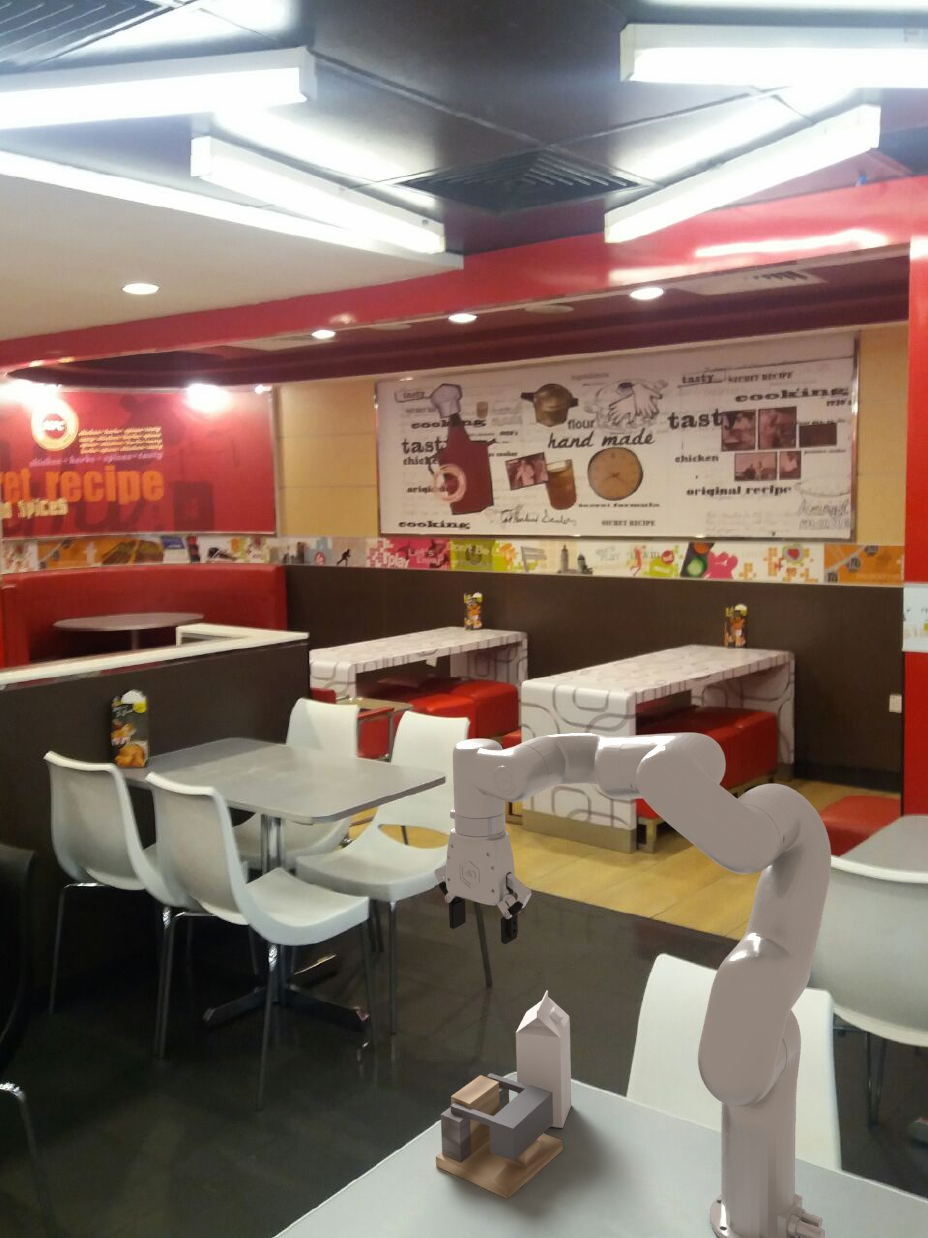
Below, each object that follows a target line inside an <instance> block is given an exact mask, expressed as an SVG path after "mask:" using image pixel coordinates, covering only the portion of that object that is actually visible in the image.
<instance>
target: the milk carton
mask: <svg viewBox="0 0 928 1238" xmlns="http://www.w3.org/2000/svg"><path fill="white" fill-rule="evenodd" d="M570 1019H571V1018H570V1016H569V1014H568V1013H567V1012H565V1010H564V1009H562V1008H561V1007H560V1006H559V1005H558V1004H557V1003H556V1002H555V1001H554V1000H553V999H551V998H550V997H549V990H547V989H546V991H545V992H544V995H543V997H542V999H541V1000H540V1001H539V1002H538V1003H537V1004H535V1005H533V1006H532V1007H531V1008H529V1009H528V1010H527V1011H526V1012H525V1014H524V1016H523V1018H522V1020H521V1021H520V1024H519V1026H518V1028H517V1030H516V1031H515V1049H516V1050H515V1052H516V1055H515V1056H516V1082H519V1083H522V1084H525V1085H528V1086H529V1085H532V1086H535V1087H538V1088H541V1089H544V1090H547V1091H550V1092H552V1093H553V1124H552V1125H551V1126H550V1127H549V1128H558V1129H563V1128H564V1126H565V1122H566V1120H567V1117H568V1115H569V1112H570V1109H571V1107H572V1073H571V1072H572V1070H571V1069H572V1067H571V1065H572V1064H571V1029H570V1028H571V1022H570ZM518 1094H520V1093H518V1092H517V1095H518Z"/></svg>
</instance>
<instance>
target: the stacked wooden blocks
mask: <svg viewBox="0 0 928 1238" xmlns="http://www.w3.org/2000/svg"><path fill="white" fill-rule="evenodd" d="M454 1102H455V1103H457V1104H460V1105H463V1106H466V1107H469V1108H471V1109H474V1110H477V1111H480V1112H482V1113H485V1114H488V1115H491V1116H495V1115H496V1114H497V1113H498V1112H499V1111H500V1110H501V1109H503V1108H504V1107H505V1106H506V1105H507V1104H508V1103H509V1102H510V1090H509V1089H506V1088H503V1087H500V1086H499V1082H497V1081H495V1080H492V1079H489V1078H487V1076H484V1075H482V1074H480V1075H478V1076H477V1077H476V1078H474V1079H473V1080H472V1081H470V1082H469V1083H468V1084H466V1085H465V1086H463V1087H462V1088H461V1089H459V1090H458V1091H456V1092H455V1093H454V1094H452V1095H451V1096H450V1103H451V1104H450V1107H448V1108H447V1109H446V1110H445V1111H443V1112H442V1113H440V1129H441V1130H440V1131H441V1152H440V1153H438V1154H437V1155H436V1156H435V1166H436V1167H437V1168H439V1169H441V1170H444V1171H447V1172H448V1173H451V1174H453V1175H455V1176H457V1177H459V1178H461V1179H464V1180H465V1181H467V1182H470V1183H472V1184H474V1185H476V1186H479V1187H481V1188H483V1189H485V1190H488V1191H489V1192H491V1193H494V1194H496V1195H498V1196H501V1197H503V1198H505V1199H506V1200H508V1199H509V1198H510V1197H512V1195H514V1194H515V1193H516V1192H518V1190H520V1188H521V1187H523V1186H524V1185H525V1184H526V1183H527V1182H528V1181H530V1179H532V1178H533V1177H534V1176H535V1175H536V1174H538V1173H539V1172H540V1171H541V1170H542V1169H544V1167H545V1166H546V1165H548V1163H549V1162H551V1161H552V1160H553V1159H555V1158H556V1156H557V1155H559V1154H560V1153H561V1152H562V1151H563V1140H561V1139H559V1138H556V1137H554V1136H551V1135H549V1134H546V1133H545V1132H544V1133H543V1134H542V1135H541V1136H540V1137H539V1138H538V1139H537V1140H536V1141H535V1142H534V1143H533V1144H532V1145H530V1146H529V1147H528V1148H527V1149H526V1150H525V1151H524V1152H523V1153H522V1154H521V1155H520V1156H519V1157H518V1158H517V1159H516V1160H515V1161H511V1160H509V1159H506V1158H504V1157H501V1156H498V1155H496V1154H493V1153H490V1126H488V1125H485V1124H482V1123H479V1122H477V1121H474V1120H471V1119H468V1118H466V1117H463V1116H460V1115H458V1114H455V1113H452V1112H451V1105H452V1104H453V1103H454Z"/></svg>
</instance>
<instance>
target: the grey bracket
mask: <svg viewBox="0 0 928 1238" xmlns="http://www.w3.org/2000/svg"><path fill="white" fill-rule="evenodd" d="M486 1077H487V1078H489V1079H492V1080H495V1081H497V1082H499V1086H500V1087H503V1088H506V1089H509V1091H512V1092H515V1093H517V1095H516V1096H515V1097H514V1098H512V1100H510V1101H509V1103H508V1104H507V1105H506V1106H505V1107H504V1108H503V1109H501V1110H500V1111H499V1112H498V1113H497V1114H496V1115H495V1116H491V1115H488V1114H485V1113H482V1112H480V1111H477V1110H474V1109H471V1108H469V1107H466V1106H463V1105H460V1104H457V1103H455V1102H454V1103H453V1104H452V1105H451V1104H450V1107H451V1112H452V1113H455V1114H458V1115H460V1116H463V1117H466V1118H468V1119H471V1120H474V1121H477V1122H479V1123H482V1124H485V1125H488V1126H490V1153H493V1154H496V1155H498V1156H501V1157H504V1158H506V1159H509V1160H511V1161H515V1160H516V1159H517V1158H518V1157H519V1156H520V1155H521V1154H522V1153H523V1152H524V1151H525V1150H526V1149H527V1148H528V1147H529V1146H530V1145H532V1144H533V1143H534V1142H535V1141H536V1140H537V1139H538V1138H539V1137H540V1136H541V1135H542V1134H543V1133H544V1134H545V1132H546V1131H547V1130H548V1129H549V1128H551V1127H550V1126H551V1125H552V1124H553V1093H552V1092H550V1091H547V1090H544V1089H541V1088H538V1087H535V1086H532V1085H529V1086H528V1085H525V1084H522V1083H519V1082H517V1080H513V1079H509V1078H506V1077H503V1076H500V1075H498V1074H495V1073H492V1072H491V1073H489V1074H487V1075H486ZM518 1093H520V1094H518Z"/></svg>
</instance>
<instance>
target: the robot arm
mask: <svg viewBox="0 0 928 1238" xmlns="http://www.w3.org/2000/svg"><path fill="white" fill-rule="evenodd" d="M726 765H727V764H726V756H725V753H724V751H723V749H722V747H721V745H720V744H719V743H718V742H717V741H716V740H715V739H714V738H712V737H711V736H710V735H707V734H703V733H698V732H670V733H668V732H667V733H655V734H639V735H637V734H636V735H619V736H618V735H611V736H609V735H604V734H603V735H602V734H596V733H595V734H594V733H582V732H581V733H565V734H563V733H562V734H550V735H542V736H536V737H534V738H531V739H528V740H526V741H524V742H521V743H519V744H517V745H515V746H511V747H508V748H505V749H503V746H502V744H501V743H499V742H498V741H496V740H494V739H489V738H469V739H465V740H460V741H459V742H457V743H456V744H455V745H454V747H453V750H452V775H453V776H452V779H453V781H452V782H453V785H452V786H453V806H454V807H453V809H452V810H451V811H450V813H449V817H450V819H452V820H453V821H454V827H453V828H452V829H450V833H449V837H448V843H447V850H446V860H445V861H446V863H445V864H446V865H443V866H440V867H438V868H437V869H434V875H435V877H436V879H437V882H438V883H439V884H438V888H439V890H441V892H442V893H443V895H444V900H445V902H446V903H448V918H449V928H450V929H452V930H454V929H456V928H458V927H461V926H462V925H465V924H466V923H467V922H466V921H467V920H466V919H467V918H466V900H468V901H472V902H476V903H480V904H483V905H488V906H497V907H498V909H499V910H500V912H501V914H502V916H501V918H500V941H501V944H504V945H507V944H509V943H511V942H512V941H514V940H516V939H517V938H518V933H519V932H518V931H519V930H518V929H519V926H518V924H519V923H518V922H519V921H518V915H519V914H520V913H521V912H522V910H524V909H525V908H526V907H527V905H528V902H529V900H530V899H531V897H532V894H533V893H532V890H531V889H530V887H528V886H526V885H525V884H524V883H523V882H522V881H521V880H519V879H518V878H517V877H516V873H515V862H514V854H513V849H512V843H511V839H510V834H509V832H507V831H506V804H505V803H506V802H509V803H521V802H524V801H526V800H528V799H529V800H530V798H532V797H534V796H536V795H538V794H540V793H542V792H543V791H545V790H548V789H549V788H551V787H553V786H557V785H571V784H593V785H598V787H599V790H600V791H601V792H602V793H603V795H605V796H606V797H607V798H610V799H613V800H632V799H636V800H637V799H643V800H644V801H645V803H646V804H647V805H648V806H649V807H650V808H651V809H652V810H653V811H654V813H656V814H657V815H658V816H659V817H660V818H661V819H662V820H664V821H665V822H666V823H667V824H668V825H669V826H670V827H671V828H673V829H674V830H676V832H678V833H679V834H680V835H681V836H682V837H684V838H685V839H686V840H688V841H689V842H690V844H692V845H694V847H696V849H698V850H699V851H701V852H702V854H704V855H706V857H707V858H709V859H710V860H711V861H713V862H714V863H715V864H716V865H718V866H720V867H722V868H723V869H726V870H727V871H729V872H731V873H735V874H738V875H753V874H757V873H760V872H761V873H760V875H759V878H758V881H757V885H756V888H755V892H754V897H753V902H752V903H753V904H752V909H751V912H750V916H749V921H748V923H747V927H746V930H745V933H744V935H743V936H742V938H741V939H740V941H739V942H738V943H737V945H736V946H735V947H734V948H733V949H732V950H731V951H730V952H729V954H727V956H726V957H725V958H724V960H723V961H722V962H721V964H720V966H719V967H718V969H717V971H716V973H715V976H714V979H713V982H712V984H711V989H710V992H709V999H708V1003H707V1007H706V1011H705V1016H704V1021H703V1026H702V1029H701V1035H700V1038H699V1044H698V1050H697V1066H698V1071H699V1075H700V1078H701V1081H702V1083H703V1085H705V1088H706V1089H707V1091H709V1093H710V1094H711V1095H712V1096H713V1097H714V1098H715V1099H716V1100H717V1101H720V1102H721V1110H720V1111H721V1112H720V1114H721V1115H720V1116H721V1117H720V1118H721V1119H720V1120H721V1121H720V1122H721V1123H720V1124H721V1126H720V1127H721V1129H720V1131H721V1132H720V1134H721V1139H720V1140H721V1143H720V1145H721V1146H720V1147H721V1154H720V1155H721V1160H720V1161H721V1163H720V1164H721V1169H720V1171H721V1173H720V1174H721V1175H720V1176H721V1180H720V1181H721V1190H720V1192H721V1194H720V1195H718V1196H717V1197H716V1198H715V1199H714V1201H713V1202H712V1203H711V1206H710V1208H709V1223H710V1226H711V1229H712V1230H713V1231H714V1233H715V1235H716V1236H717V1237H718V1238H826V1231H825V1229H824V1228H822V1227H823V1217H820V1216H818V1215H815V1214H811V1213H810V1212H809V1213H808V1212H807V1211H806V1209H804V1208H803V1196H801V1195H799V1194H796V1130H797V1129H796V1123H797V1089H798V1078H799V1069H800V1060H801V1049H802V1035H801V1029H800V1025H799V1021H798V1019H797V1017H796V1015H795V1013H794V1012H793V1010H792V1009H793V1008H794V1006H795V1004H796V1003H797V1002H798V1000H799V999H800V997H801V996H802V995H803V993H804V991H805V989H806V987H807V986H808V984H809V982H810V981H809V980H810V978H811V973H812V966H813V962H814V961H813V960H814V957H815V950H816V946H817V942H818V938H819V933H820V931H821V930H820V929H821V924H822V919H823V912H824V908H825V903H826V898H827V895H828V889H829V886H830V885H829V884H830V879H831V870H832V849H831V842H830V839H829V838H830V837H829V834H828V832H827V828H826V825H825V824H824V822H823V819H822V818H821V815H820V813H818V810H817V809H816V808H815V807H814V806H813V804H812V803H811V802H810V801H809V800H808V799H807V798H806V797H805V796H804V795H803V794H801V793H799V792H798V791H797V790H796V789H793V788H792V787H790V786H788V785H784V784H782V783H781V784H780V783H766V784H761V785H757V786H755V787H753V788H751V789H749V790H747V791H746V792H744V793H743V794H741V796H739V797H738V798H737V797H735V796H734V794H732V793H731V792H729V791H728V790H727V789H725V788H724V787H723V786H722V785H721V784H720V783H721V782H722V781H723V778H724V776H725V773H726ZM515 893H516V895H517V898H515Z"/></svg>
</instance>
